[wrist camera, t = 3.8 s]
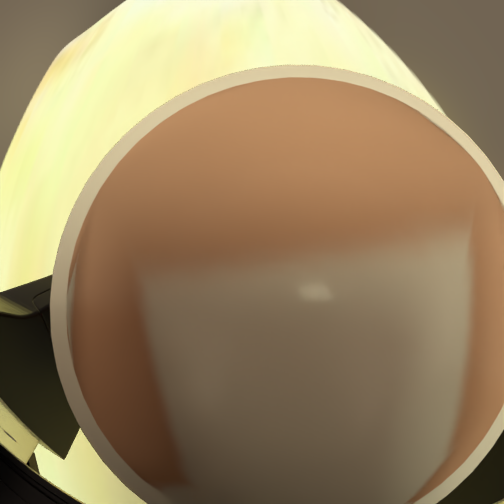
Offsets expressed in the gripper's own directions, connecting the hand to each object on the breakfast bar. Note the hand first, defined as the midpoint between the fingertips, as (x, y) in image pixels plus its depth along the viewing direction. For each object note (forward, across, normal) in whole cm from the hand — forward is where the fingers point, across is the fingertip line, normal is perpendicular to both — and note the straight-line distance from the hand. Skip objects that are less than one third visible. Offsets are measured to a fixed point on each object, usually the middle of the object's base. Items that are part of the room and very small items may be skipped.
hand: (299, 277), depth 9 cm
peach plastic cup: (+5, 0, +5) cm, 7 cm away
